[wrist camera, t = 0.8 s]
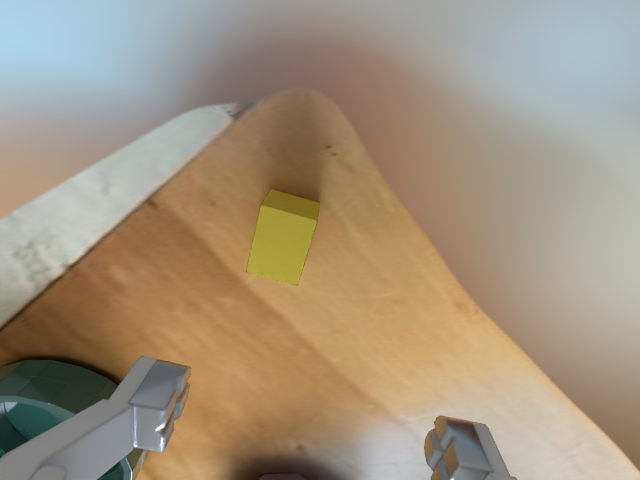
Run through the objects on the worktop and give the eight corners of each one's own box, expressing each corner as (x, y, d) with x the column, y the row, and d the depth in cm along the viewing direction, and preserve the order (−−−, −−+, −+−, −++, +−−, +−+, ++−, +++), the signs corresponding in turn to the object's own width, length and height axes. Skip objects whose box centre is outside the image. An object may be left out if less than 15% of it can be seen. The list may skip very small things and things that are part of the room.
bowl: (-22, 336, 30) (-77, 375, 26) (161, 379, 32) (136, 422, 28) (-1, 448, 37) (-42, 493, 33) (149, 479, 39) (127, 526, 34)
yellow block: (270, 188, 24) (261, 204, 20) (320, 202, 24) (317, 220, 21) (256, 249, 26) (245, 272, 22) (301, 261, 26) (297, 286, 23)
